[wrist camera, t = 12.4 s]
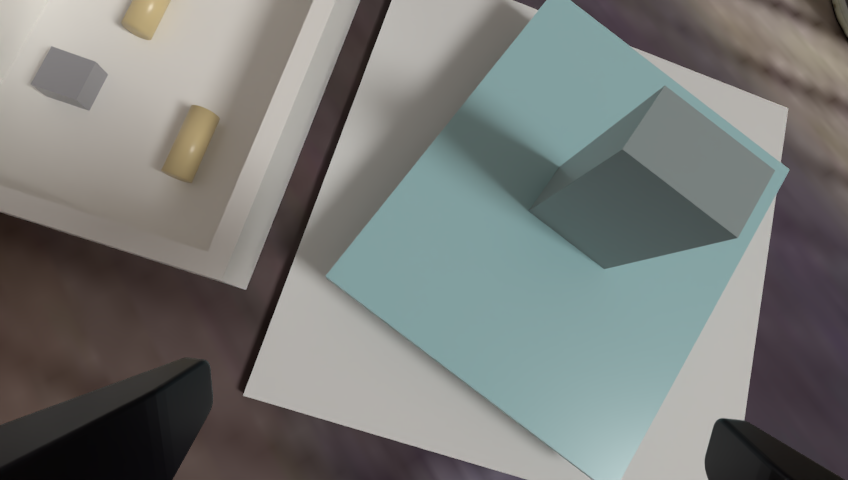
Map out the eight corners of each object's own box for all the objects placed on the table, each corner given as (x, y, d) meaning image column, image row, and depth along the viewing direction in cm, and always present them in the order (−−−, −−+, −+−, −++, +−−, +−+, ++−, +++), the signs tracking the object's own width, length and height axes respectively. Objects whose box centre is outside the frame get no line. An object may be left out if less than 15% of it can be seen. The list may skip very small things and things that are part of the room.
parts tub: (245, 289, 20) (221, 280, 16) (-70, 190, 19) (-178, 154, 15) (365, -15, 24) (369, -82, 20) (105, -114, 23) (55, -206, 19)
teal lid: (581, 474, 21) (770, 593, 11) (328, 282, 20) (310, 244, 11) (746, 185, 25) (985, 98, 15) (535, 22, 24) (647, -164, 15)
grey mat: (720, 534, 21) (727, 538, 21) (245, 394, 19) (243, 395, 19) (781, 111, 26) (788, 108, 26) (406, -36, 24) (407, -42, 24)
